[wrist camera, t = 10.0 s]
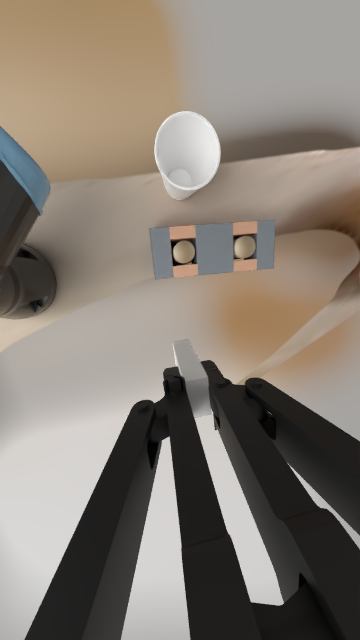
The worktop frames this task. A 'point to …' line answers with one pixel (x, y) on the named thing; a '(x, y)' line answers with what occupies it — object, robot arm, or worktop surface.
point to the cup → (186, 153)
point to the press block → (212, 248)
